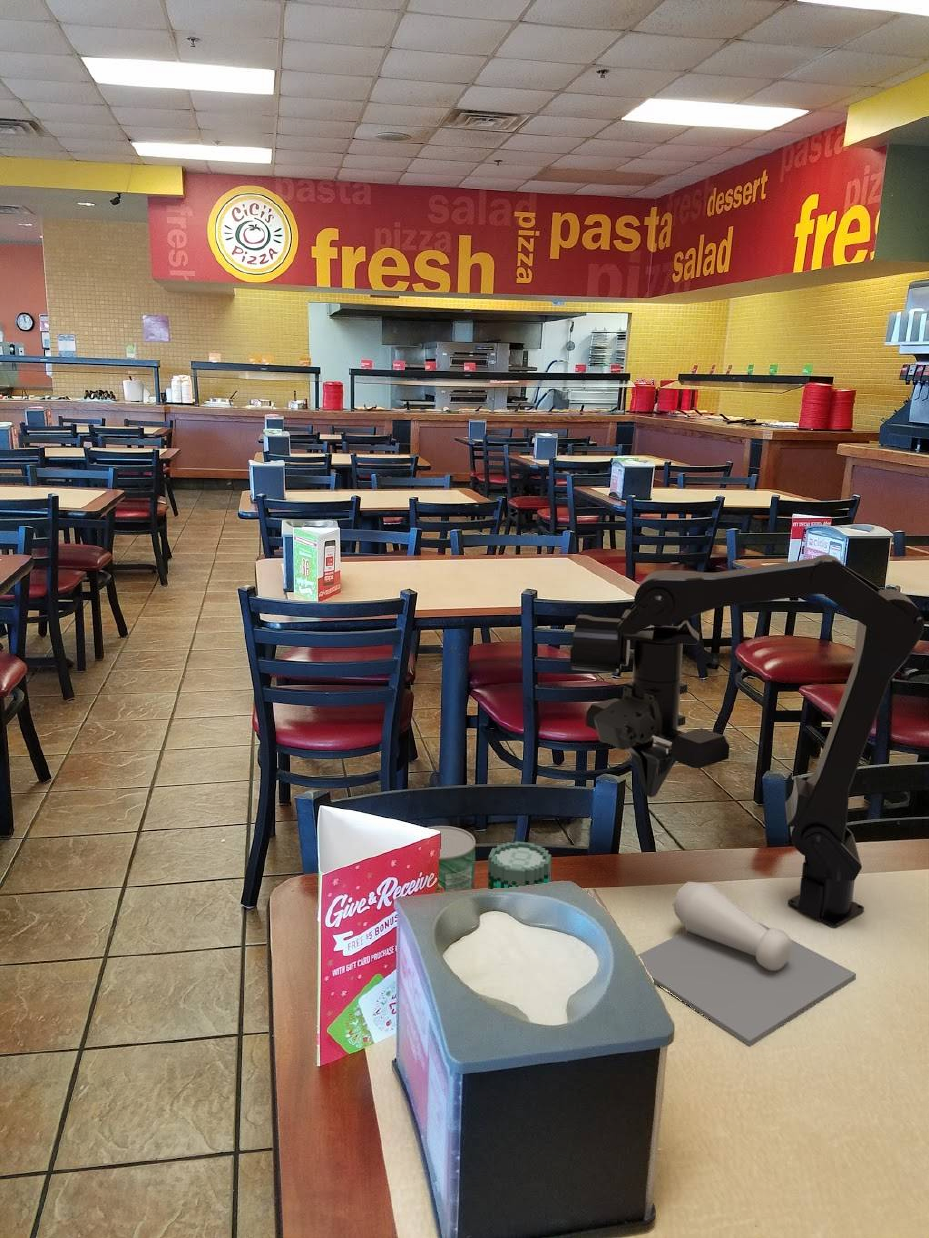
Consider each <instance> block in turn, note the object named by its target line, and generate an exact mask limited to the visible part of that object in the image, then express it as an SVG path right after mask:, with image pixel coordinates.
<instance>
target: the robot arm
mask: <svg viewBox="0 0 929 1238" xmlns="http://www.w3.org/2000/svg"><path fill="white" fill-rule="evenodd" d="M814 595H824V596H825V597H826V598H828V599H829V600H830V601H832V602H833V603H834V604H836V605H837V606H838V607H839V608H841V609H842V610H844V611H845V613H847V614H849V615H850V616H851V617H852V618H854V619H855V620H856V621H857V625H856V626H857V627H856V632H855V644H854V645H855V646H854V657H853V665H852V667H851V670H850V673H849V676H848V678H847V681H846V683H845V684H846V685H845V687H844V690H843V693H842V696H841V698H840V702H839V705H838V706H837V709H836V712H835V715H834V718H833V721H832V724H831V725H830V730H828V731H829V732H828V735H827V736H826V737H827V738H826V740H825V742H824V745H823V749H822V751H821V754H820V757H819V759H818V763H817V765H816V768H815V769H814V771H813V773H812V774H811V775H810V776H809V777H808V778H807V779H806V780H804V779H803V778H800V777H799V776H795V777H794V780H793V786H792V787H793V789H792V791H791V792H792V793H791V795H790V796H789V798H788V799H787V800H786V801H785V803H784V804H785V813H786V814H785V815H786V822H787V823H786V824H787V827H788V828H789V829H790V836H791V837H790V838H791V843H792V844H793V846H794V848H795V849H796V851H798V852H799V853H800V854H801V855H802V856H803V857H804V860H803V863H802V871H801V878H800V885H799V894H797V895H795V896H793V897H792V898H789V899H788V900H787V905H788V906H789V907H791V908H792V909H793V908H794V910H797V911H799V912H801V913H803V914H805V915H808V916H810V917H812V918H813V919H815V920H818V921H820V922H822V923H824V924H825V925H827V926H830V927H832V928H837V927H838V926H840V925H842V924H844V923H846V922H847V921H849V920H851V919H853V918H855V917H857V916H859V915H860V914H862V913H863V912H864V911H865V907H864V906H863V904H862V905H861V904H860V903H857V902H855V901H853V899H854V898H853V897H854V888H855V881H856V879H857V877H858V876H859V874H860V872H861V871H862V868H863V867H862V862H861V859H860V855H859V851H858V847H857V843H856V840H855V837H854V833H852V831H851V830H850V829H849V828H848V827H847V823H848V815H849V814H848V813H849V803H850V802H849V800H850V791H851V787H852V784H853V781H854V778H855V777H856V773H857V770H858V767H859V765H860V762H861V760H862V757H863V754H864V752H865V749H866V746H867V743H868V740H869V738H870V735H871V732H872V730H873V727H874V725H875V722H876V719H877V716H878V714H879V711H880V708H881V705H882V703H883V700H884V697H885V695H886V693H887V689H888V686H889V684H890V682H891V680H892V678H893V677H894V676H895V674H896V673H897V672H898V671H899V670H900V669H901V667H902V666H903V665H904V664H905V663H906V662H907V661H908V659H909V658H910V656H911V655H912V652H913V651H914V649H915V648H916V646H917V644H918V643H919V641H920V640H921V637H922V636H923V633H924V629H925V619H924V616H923V615H922V612H921V610H920V609H919V608H918V607H917V606H916V605H915V603H914V602H913V601H912V600H911V598H909V597H908V596H907V595H906V594H905V593H903V592H901V591H898V590H897V589H890V588H889V589H888V588H886V589H881V588H880V587H878V586H877V585H876V584H874V583H872V582H871V581H869V580H867V579H866V578H865V577H863V576H862V575H860V574H858V573H856V572H855V571H854V570H852V569H850V568H849V567H847V566H846V565H845V564H843V563H842V561H841V560H840V559H839V558H837V557H836V556H833V555H831V554H822V555H821V554H820V555H818V556H815V557H813V558H808V559H799V560H793V561H786V562H779V563H773V564H765V565H759V566H753V567H745V568H738V569H731V570H725V571H718V572H702V571H693V570H681V569H680V570H675V569H674V570H673V569H670V570H669V569H663V570H660V569H659V570H655V571H653V572H651V573H649V574H647V575H646V576H645V577H644V579H643V580H642V581H641V582H640V584H639V586H638V588H637V590H636V591H635V595H634V597H633V598H634V600H633V601H634V603H633V604H632V605H631V607H630V608H629V609H625V611H624V612H623V614H622V616H621V618H612V617H611V618H610V617H598V616H597V617H596V616H592V615H590V614H589V615H588V614H578V615H577V617H576V618H575V624H574V625H575V626H574V627H575V628H574V632H573V636H572V644H571V645H570V652H569V654H570V655H569V656H570V657H569V661H570V668H571V670H573V671H583V672H584V671H585V672H586V671H587V672H598V673H610V674H618V673H619V671H620V670H621V669H622V666H623V667H624V666H625V667H627V666H629V661H630V660H629V659H630V654H631V653H630V650H631V641H634V642H633V643H634V645H633V664H632V665H633V666H632V681H630V682H629V681H628V682H625V683H624V686H623V693H622V697H621V698H620V699H618V698H616V697H615V698H611V699H608V700H604V701H603V700H602V701H599V702H596V703H592V704H590V706H589V708H588V709H587V710H586V712H585V726H586V727H588V728H591V729H594V730H596V732H597V736H598V740H599V742H601V743H603V744H605V743H606V744H609V745H610V746H613V747H615V749H618V750H620V751H622V750H623V751H625V750H627V751H628V752H629V753H630V754H631V756H632V757H633V761H634V763H635V765H636V768H637V771H638V775H639V779H640V783H641V785H642V788H643V791H644V795H645V796H646V797H649V798H654V797H656V796H657V794H658V793H659V790H660V789H661V787H662V786H663V784H664V782H665V780H666V778H667V776H668V775H669V774H670V771H671V770H672V768H673V766H674V765H675V763H676V762H677V763H680V764H682V765H685V766H687V767H690V768H692V769H702V768H705V767H708V766H711V765H714V764H717V763H719V762H723V761H726V760H728V759H729V756H730V741H729V740H728V739H727V737H726V736H725V735H723V734H720V733H717V732H715V731H711V730H709V729H706V728H704V727H703V728H702V727H699V728H697V729H693V730H689V731H685V730H681V729H679V728H678V727H682V726H685V725H686V716H685V715H681V714H680V700H681V698H680V697H681V695H683V694H686V693H688V684H687V683H685V682H681V681H682V680H681V679H682V664H683V663H682V662H683V649H684V648H683V645H692V646H693V645H694V646H695V645H698V644H699V639H700V633H699V632H697V630H696V629H694V628H693V627H692V626H691V624H690V622H689V621H688V620H689V619H692V618H693V617H697V616H698V615H701V614H703V613H706V612H708V611H711V610H715V609H718V608H723V607H725V608H726V607H730V606H731V607H732V606H739V605H744V604H745V605H746V604H753V603H760V602H767V601H776V600H783V599H785V600H786V599H791V598H792V599H793V598H799V597H806V596H814ZM679 622H682V623H681V624H679V625H678V626H673V625H672V624H675V623H679ZM650 626H653V630H645V629H647V628H648V627H650Z"/></svg>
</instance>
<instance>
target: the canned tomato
mask: <svg viewBox="0 0 929 1238" xmlns="http://www.w3.org/2000/svg"><path fill="white" fill-rule="evenodd" d="M426 828H429V829H436V830H439V831H440V833H441V849H440V857H439V877H438V886H437V889H436V892H448V891H457V890H467V889H475V890H476V843H477V842H476V839H475V837H474V835H473V834H472V833H470V832H469V831H467V830H465V829H463V828H458V827H455V826H448V825H435V826H427V827H426Z"/></svg>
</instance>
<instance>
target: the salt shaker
mask: <svg viewBox="0 0 929 1238" xmlns="http://www.w3.org/2000/svg"><path fill="white" fill-rule="evenodd" d="M672 907H673V910H674V914H675V916H676V917H677V919H678V920H679V921H680V923H681V924H682V925H683V927H684V928H685V929H686V931H689V932H691V933H694V934H697V935H699V936H702V937H705V938H708V939H710V940H713V941H716V942H718V943H721V944H724V945H727V946H729V947H732V948H735V949H738V950H740V951H743V952H746V953H748V954H751V955H754V956H756V960H757V961H758V963H759V964H760V965H761V966H762V967H764V968H765V969H768V970H770V971H776V970H779V969H780V968H782V967H783V966H784V965H785V963H786V962H787V960H788V958H789V956H790V953H791V950H792V941H791V940H792V939H791V937H790V935H789V934H788V933H786V932H785V931H783V930H781V929H779V928H775V927H771V928H770V929H769V930H767V929H766V928H764V927H763V926H762V925H761V924H762V923H761V924H759V923H760V922H759V921H757V920H756V919H755V918H754V917H752V916H751V915H750V914H749V913H747V912H746V911H745V910H743V909H742V908H741V907H740V906H739V905H737V903H735V902H734V901H733V900H731V899H730V898H729V897H728V896H727V895H726V894H725V893H723V892H722V891H720V890H719V888H717V887H715V885H712V884H709V883H707V882H706V883H705V882H696V881H687V882H686V883H685V884H684V885H683V886H681V887H680V888H679V889H678V891H677V892H676V895H675V898H674V901H673V903H672ZM758 922H759V923H758Z"/></svg>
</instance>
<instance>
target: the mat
mask: <svg viewBox="0 0 929 1238" xmlns="http://www.w3.org/2000/svg"><path fill="white" fill-rule="evenodd" d="M757 922H758V923H759V924H761V925H762V926H763V927H764V928H766V929H767V930H769V929H771V928H770V927H768V926H767V925H764V924H762V923H760V922H759V921H757ZM791 941H792V950H791V953H790V956H789V958H788V960H787V962H786V963H785V965H784V966H783V967H782V968H780V969H779V970H776V971H770V970H768V969H765V968H764V967H762V966H761V965H760V964H759V963H758V961H757V960H756V956H754V955H751V954H748V953H746V952H743V951H740V950H738V949H735V948H732V947H729V946H727V945H724V944H721V943H718V942H716V941H713V940H710V939H708V938H705V937H702V936H699V935H697V934H694V933H691V932H689V931H688V930H686V931H684V932H681V933H680V934H678V935H676V936H673V937H672V938H670V939H667V940H665V941H664V942H661V943H660V944H658V945H655V946H653V947H652V948H649V949H647V950H645V951H643V952H641V953H639V954H637V955H638V956H640V958H641V959H642V961H643V963H644V966H645V967H646V969H647V971H648V972H649V974H650V975H651V976H652V978H653V980H654V983H653V984H654V985H656V986H657V987H659V986H661V987H663V988H665V989H667V990H668V991H670V993H672V994H673V995H675V996H676V997H678V998H679V999H680V1000H682V1001H683V1002H684V1003H686V1004H687V1005H689V1006H691V1007H692V1008H693V1009H695V1010H696V1011H695V1010H694V1011H695V1012H696V1013H698V1012H699V1013H698V1014H700V1015H701V1014H703V1015H704V1016H705V1017H704V1016H703V1015H702V1016H703V1017H704V1018H706V1017H707V1018H708V1019H707V1018H706V1019H707V1020H709V1019H710V1020H709V1021H711V1022H712V1023H713V1024H715V1025H716V1026H718V1027H719V1028H721V1029H723V1031H726V1032H727V1033H729V1034H730V1035H731V1036H733V1037H734V1038H736V1039H737V1040H738V1041H740V1042H742V1043H743V1044H745V1045H746V1046H748V1047H751V1046H752V1045H754V1044H755V1043H757V1042H759V1041H760V1040H761V1039H763V1038H765V1037H766V1036H768V1035H769V1034H771V1033H773V1032H774V1031H776V1030H778V1029H779V1028H780V1027H782V1026H783V1025H785V1024H787V1023H788V1022H790V1021H792V1020H793V1019H795V1018H796V1017H797V1016H799V1015H801V1014H802V1013H804V1012H805V1011H807V1010H809V1009H810V1008H812V1007H813V1006H816V1005H817V1004H818V1003H819V1002H821V1001H823V1000H824V999H826V998H827V997H829V996H830V995H832V994H834V993H835V992H837V991H838V990H840V989H841V988H843V987H844V986H846V985H848V984H849V983H851V982H853V981H854V980H856V977H857V973H856V972H854V971H852V970H850V969H848V968H846V967H844V966H842V965H841V964H838V963H836V962H835V961H833V960H831V959H829V958H828V957H825V956H823V955H822V954H819V953H818V952H816V951H814V950H812V949H810V948H808V947H806V946H805V945H802V944H800V943H798V942H797V941H795V940H793V939H791ZM657 984H658V985H659V986H658V985H657ZM680 1000H679V1001H680ZM683 1002H682V1003H683ZM684 1003H683V1004H684ZM686 1004H685V1005H686ZM687 1005H686V1006H687ZM689 1006H688V1007H689ZM692 1008H691V1009H692Z"/></svg>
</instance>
